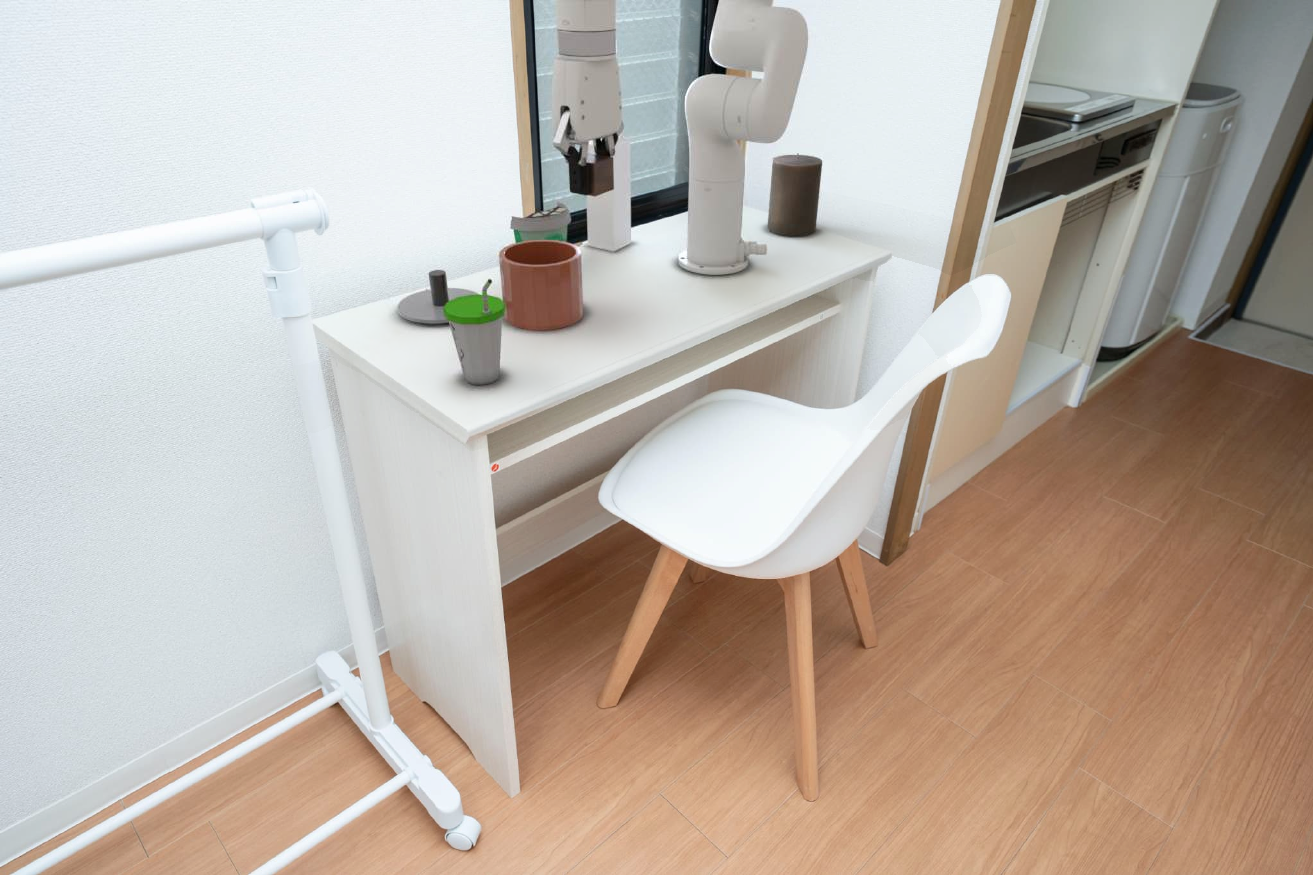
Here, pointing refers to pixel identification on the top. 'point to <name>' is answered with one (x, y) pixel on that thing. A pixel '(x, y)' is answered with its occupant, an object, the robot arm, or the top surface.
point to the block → (600, 174)
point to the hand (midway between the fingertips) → (591, 188)
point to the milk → (612, 204)
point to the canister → (541, 284)
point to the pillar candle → (794, 194)
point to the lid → (431, 300)
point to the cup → (477, 334)
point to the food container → (542, 225)
